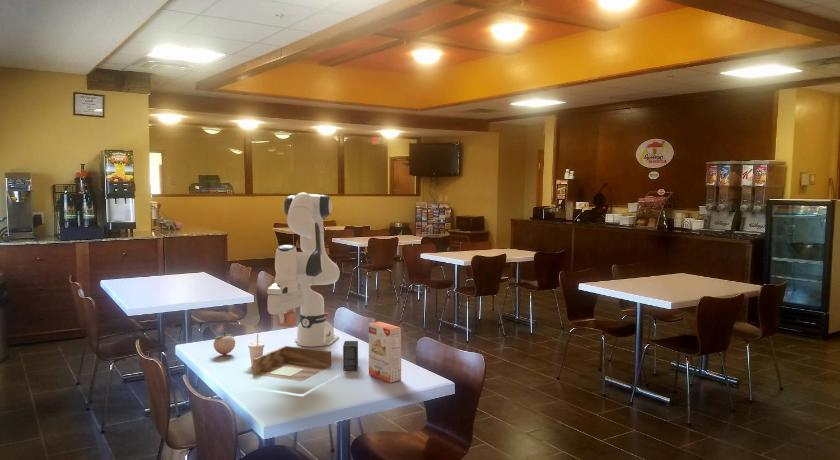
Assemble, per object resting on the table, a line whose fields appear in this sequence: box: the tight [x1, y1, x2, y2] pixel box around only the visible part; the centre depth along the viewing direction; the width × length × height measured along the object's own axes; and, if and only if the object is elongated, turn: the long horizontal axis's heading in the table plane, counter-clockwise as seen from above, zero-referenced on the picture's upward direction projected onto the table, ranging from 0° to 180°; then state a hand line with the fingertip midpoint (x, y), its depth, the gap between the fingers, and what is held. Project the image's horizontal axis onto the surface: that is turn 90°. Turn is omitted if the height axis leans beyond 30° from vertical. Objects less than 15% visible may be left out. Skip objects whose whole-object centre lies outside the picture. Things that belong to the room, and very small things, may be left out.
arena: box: [252, 345, 332, 382], centre depth 238 cm, size 22×22×7 cm
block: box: [276, 311, 297, 328], centre depth 235 cm, size 6×4×5 cm, turn 69°
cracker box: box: [368, 321, 402, 384], centre depth 231 cm, size 14×6×21 cm, turn 40°
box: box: [342, 340, 359, 372], centre depth 243 cm, size 8×6×11 cm
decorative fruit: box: [213, 332, 236, 356], centre depth 261 cm, size 9×8×10 cm
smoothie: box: [247, 333, 265, 368], centre depth 243 cm, size 6×6×14 cm
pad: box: [269, 366, 305, 377], centre depth 236 cm, size 10×10×1 cm
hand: (286, 321), depth 235 cm, fingers closed on block, 4 cm apart
